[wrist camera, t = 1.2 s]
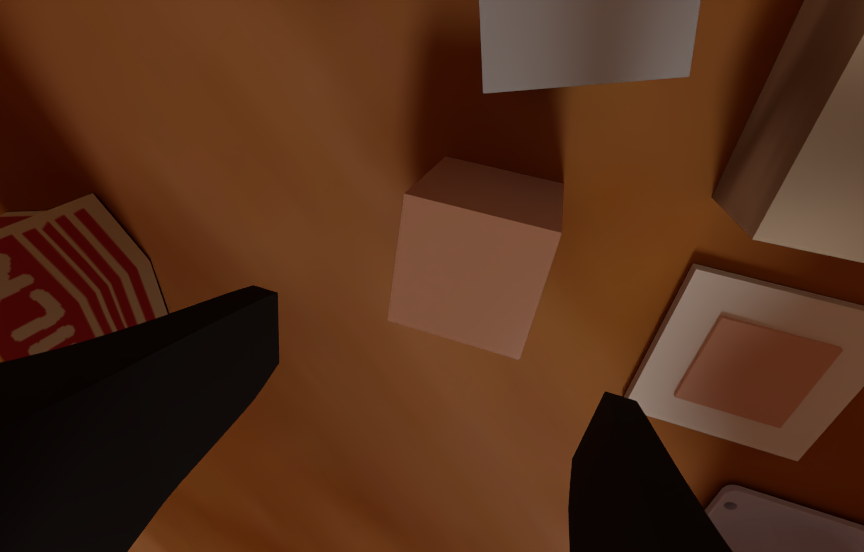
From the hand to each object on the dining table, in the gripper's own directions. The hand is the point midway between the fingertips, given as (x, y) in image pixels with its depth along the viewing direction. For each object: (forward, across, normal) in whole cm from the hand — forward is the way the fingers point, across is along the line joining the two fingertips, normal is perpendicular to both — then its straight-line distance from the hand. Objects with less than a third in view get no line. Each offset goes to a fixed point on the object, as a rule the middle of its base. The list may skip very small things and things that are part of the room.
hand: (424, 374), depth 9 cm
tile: (+9, -11, +3) cm, 15 cm away
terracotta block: (+9, 0, 0) cm, 9 cm away
